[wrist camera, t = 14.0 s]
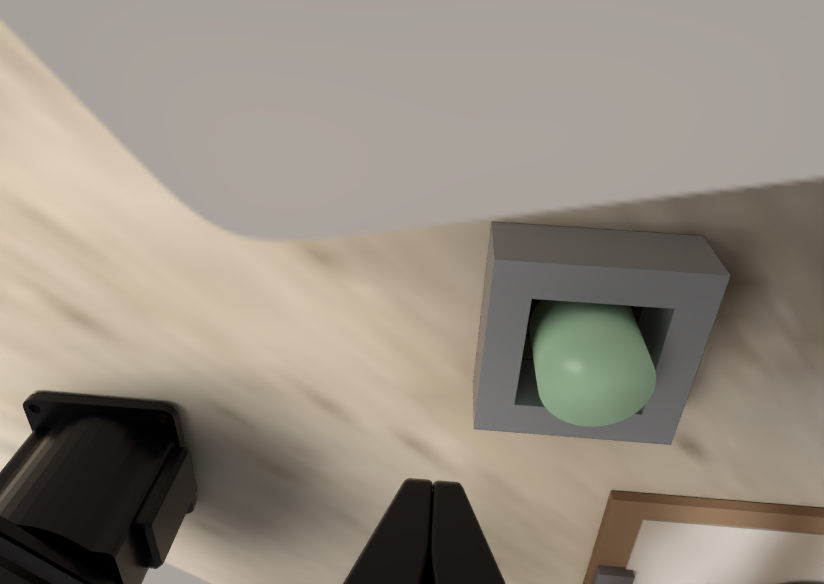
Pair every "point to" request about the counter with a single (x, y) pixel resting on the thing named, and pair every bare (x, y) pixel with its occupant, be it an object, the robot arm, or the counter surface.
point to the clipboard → (706, 542)
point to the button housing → (605, 284)
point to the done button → (590, 362)
